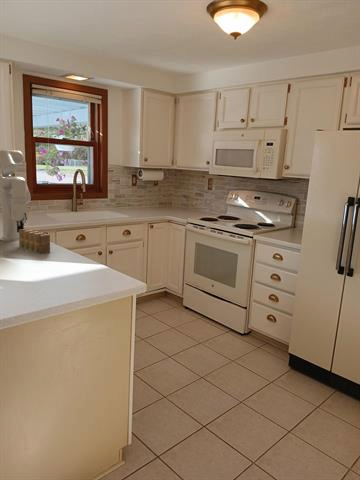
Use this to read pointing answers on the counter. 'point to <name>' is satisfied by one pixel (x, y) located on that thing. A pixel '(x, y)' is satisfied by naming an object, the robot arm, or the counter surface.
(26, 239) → the domino
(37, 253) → the board
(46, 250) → the domino
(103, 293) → the counter surface
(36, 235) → the domino
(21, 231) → the domino
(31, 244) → the domino
